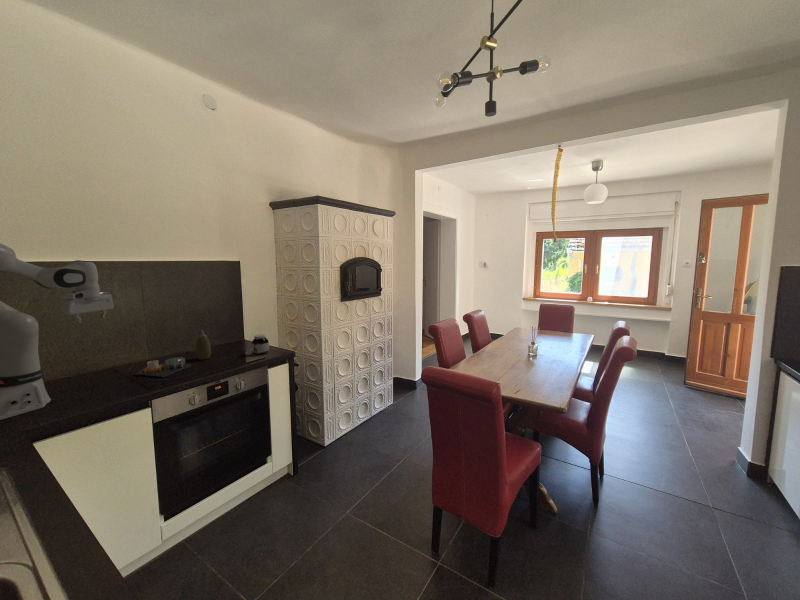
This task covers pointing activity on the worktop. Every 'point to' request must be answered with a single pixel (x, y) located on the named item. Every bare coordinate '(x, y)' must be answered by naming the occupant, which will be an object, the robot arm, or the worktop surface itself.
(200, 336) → the squeeze bottle
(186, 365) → the carrier
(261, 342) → the spread jar
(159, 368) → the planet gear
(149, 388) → the worktop surface
